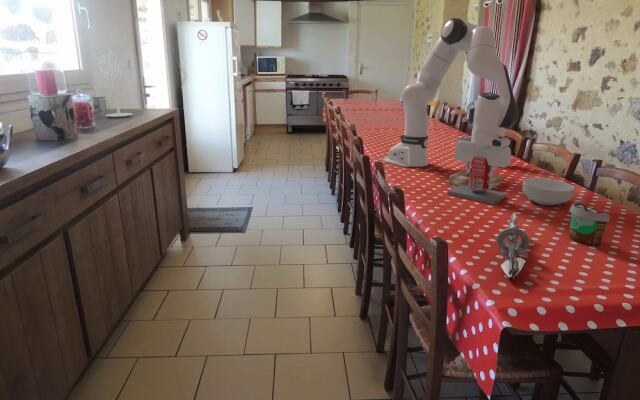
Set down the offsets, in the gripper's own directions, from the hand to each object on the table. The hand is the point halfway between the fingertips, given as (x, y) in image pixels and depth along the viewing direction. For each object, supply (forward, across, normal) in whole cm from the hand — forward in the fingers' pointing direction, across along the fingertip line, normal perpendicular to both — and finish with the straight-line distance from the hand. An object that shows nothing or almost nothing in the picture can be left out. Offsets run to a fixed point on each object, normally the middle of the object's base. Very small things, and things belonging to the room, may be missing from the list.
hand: (479, 174), depth 162 cm
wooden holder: (+8, -7, +16) cm, 19 cm away
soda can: (+6, 0, 0) cm, 6 cm away
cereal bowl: (+8, +22, +10) cm, 26 cm away
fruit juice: (+9, -16, +57) cm, 60 cm away
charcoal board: (+8, 0, 0) cm, 8 cm away
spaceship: (+8, +27, -45) cm, 53 cm away
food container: (+8, +39, -21) cm, 45 cm away
